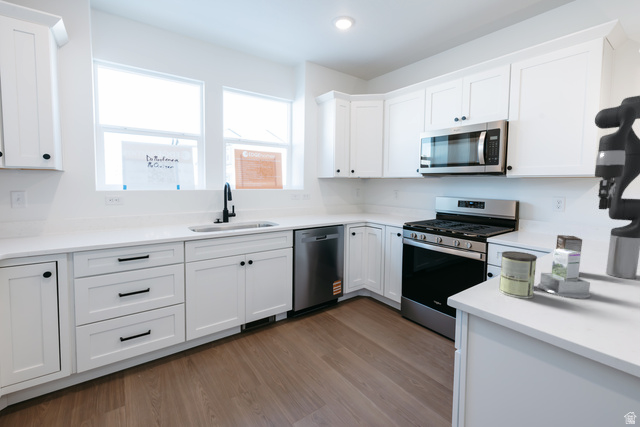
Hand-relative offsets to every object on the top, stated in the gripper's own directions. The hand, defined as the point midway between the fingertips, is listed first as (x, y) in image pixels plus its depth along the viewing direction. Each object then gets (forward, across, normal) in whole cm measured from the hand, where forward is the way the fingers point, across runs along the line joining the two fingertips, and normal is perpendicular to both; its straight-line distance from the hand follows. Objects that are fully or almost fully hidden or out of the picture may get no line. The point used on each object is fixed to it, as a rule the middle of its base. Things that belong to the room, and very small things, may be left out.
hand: (604, 208), depth 110 cm
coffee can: (+30, +31, -17) cm, 47 cm away
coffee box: (+30, -16, -12) cm, 36 cm away
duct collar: (+30, +14, -7) cm, 34 cm away
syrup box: (+30, +14, -7) cm, 34 cm away
